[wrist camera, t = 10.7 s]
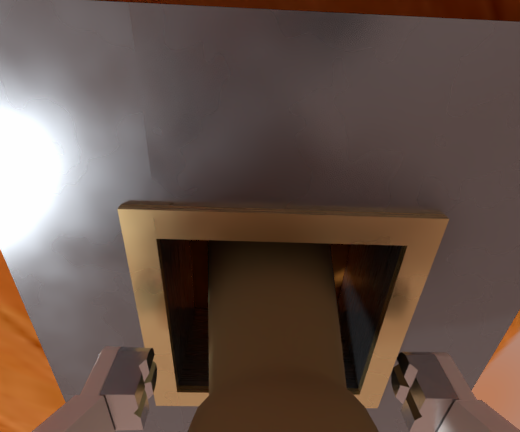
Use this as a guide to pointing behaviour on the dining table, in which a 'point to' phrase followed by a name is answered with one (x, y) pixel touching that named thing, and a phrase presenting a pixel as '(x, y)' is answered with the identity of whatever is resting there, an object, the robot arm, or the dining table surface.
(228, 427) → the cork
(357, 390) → the block
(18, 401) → the dining table surface
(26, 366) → the dining table surface
